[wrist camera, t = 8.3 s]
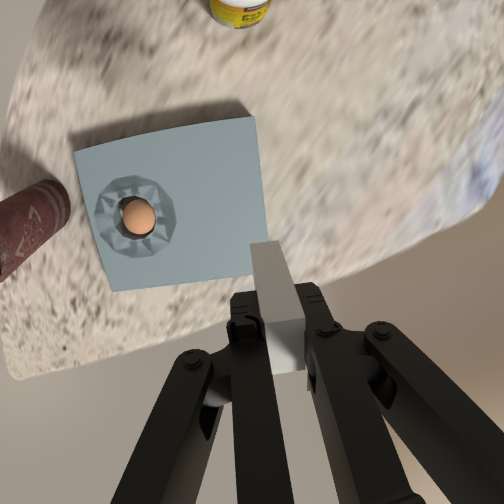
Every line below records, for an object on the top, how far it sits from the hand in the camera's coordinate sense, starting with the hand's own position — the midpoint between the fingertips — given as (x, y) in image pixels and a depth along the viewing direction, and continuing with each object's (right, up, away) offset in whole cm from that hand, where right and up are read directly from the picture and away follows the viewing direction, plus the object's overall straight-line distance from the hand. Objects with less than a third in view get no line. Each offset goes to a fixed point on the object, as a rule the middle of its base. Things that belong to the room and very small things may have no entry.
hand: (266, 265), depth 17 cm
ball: (-12, +4, +14) cm, 19 cm away
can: (-24, +6, +14) cm, 28 cm away
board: (-9, +6, +15) cm, 19 cm away
